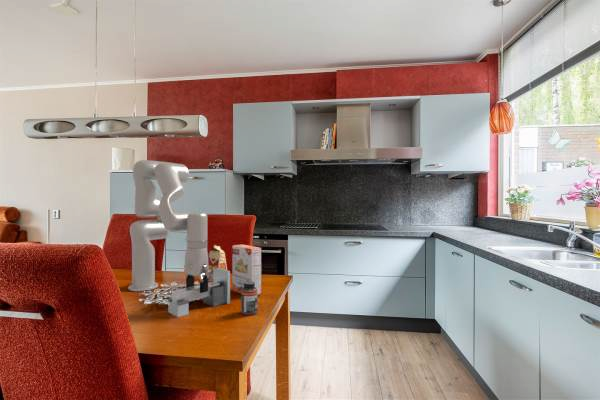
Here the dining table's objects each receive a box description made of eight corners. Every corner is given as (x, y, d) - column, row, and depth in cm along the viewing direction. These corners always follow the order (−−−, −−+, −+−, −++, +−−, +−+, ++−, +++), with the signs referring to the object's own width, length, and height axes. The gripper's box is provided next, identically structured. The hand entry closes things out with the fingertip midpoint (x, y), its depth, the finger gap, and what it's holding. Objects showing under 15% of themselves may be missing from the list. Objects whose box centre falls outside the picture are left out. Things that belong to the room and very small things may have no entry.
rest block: (168, 312, 115) (168, 298, 115) (178, 309, 118) (178, 296, 118) (178, 317, 111) (178, 303, 111) (188, 314, 114) (188, 300, 114)
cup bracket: (201, 301, 127) (201, 269, 127) (215, 298, 132) (215, 267, 132) (215, 307, 121) (215, 273, 121) (229, 303, 126) (230, 270, 126)
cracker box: (231, 291, 142) (231, 245, 142) (242, 288, 147) (242, 243, 147) (250, 298, 133) (250, 248, 133) (261, 294, 137) (261, 247, 137)
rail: (171, 301, 115) (171, 291, 115) (214, 291, 128) (214, 281, 128) (176, 304, 112) (177, 293, 112) (219, 293, 126) (219, 283, 126)
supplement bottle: (241, 310, 118) (242, 280, 118) (257, 309, 118) (258, 280, 118) (240, 316, 112) (240, 284, 112) (257, 315, 112) (257, 284, 112)
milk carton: (221, 288, 146) (221, 246, 146) (202, 287, 148) (203, 245, 148) (229, 283, 155) (229, 243, 155) (212, 282, 157) (212, 242, 157)
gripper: (176, 243, 123) (176, 287, 123) (200, 248, 112) (200, 296, 112) (194, 241, 129) (193, 283, 129) (218, 246, 117) (218, 291, 117)
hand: (196, 289), depth 120 cm, fingers open, 9 cm apart
